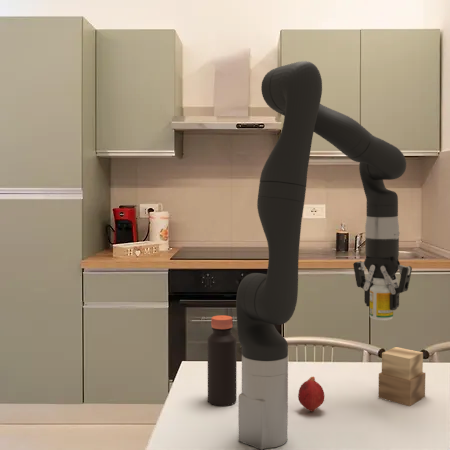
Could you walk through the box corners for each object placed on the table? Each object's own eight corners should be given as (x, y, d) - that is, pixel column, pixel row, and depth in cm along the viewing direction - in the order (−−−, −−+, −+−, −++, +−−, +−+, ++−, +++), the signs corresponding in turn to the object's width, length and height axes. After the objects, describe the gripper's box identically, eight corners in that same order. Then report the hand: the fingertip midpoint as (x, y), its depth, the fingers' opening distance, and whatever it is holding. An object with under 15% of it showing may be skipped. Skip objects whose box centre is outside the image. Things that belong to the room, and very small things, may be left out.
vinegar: (235, 407, 134) (235, 321, 133) (206, 406, 135) (206, 320, 133) (237, 396, 141) (237, 314, 140) (209, 395, 142) (208, 314, 140)
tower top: (409, 380, 135) (409, 358, 135) (381, 373, 140) (382, 352, 139) (422, 372, 140) (423, 352, 140) (395, 366, 145) (395, 346, 145)
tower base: (410, 406, 135) (410, 381, 134) (378, 398, 140) (378, 373, 140) (424, 397, 141) (425, 372, 140) (394, 389, 146) (394, 365, 146)
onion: (304, 417, 128) (304, 382, 128) (294, 408, 134) (294, 373, 133) (328, 414, 130) (328, 379, 129) (317, 405, 135) (318, 371, 135)
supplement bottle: (364, 317, 137) (365, 277, 136) (378, 314, 141) (378, 274, 140) (384, 322, 133) (384, 280, 132) (398, 318, 137) (398, 277, 136)
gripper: (346, 235, 137) (346, 306, 139) (404, 239, 128) (403, 315, 129) (362, 232, 143) (362, 301, 144) (418, 236, 133) (418, 309, 135)
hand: (381, 307), depth 137 cm, fingers closed on supplement bottle, 5 cm apart
